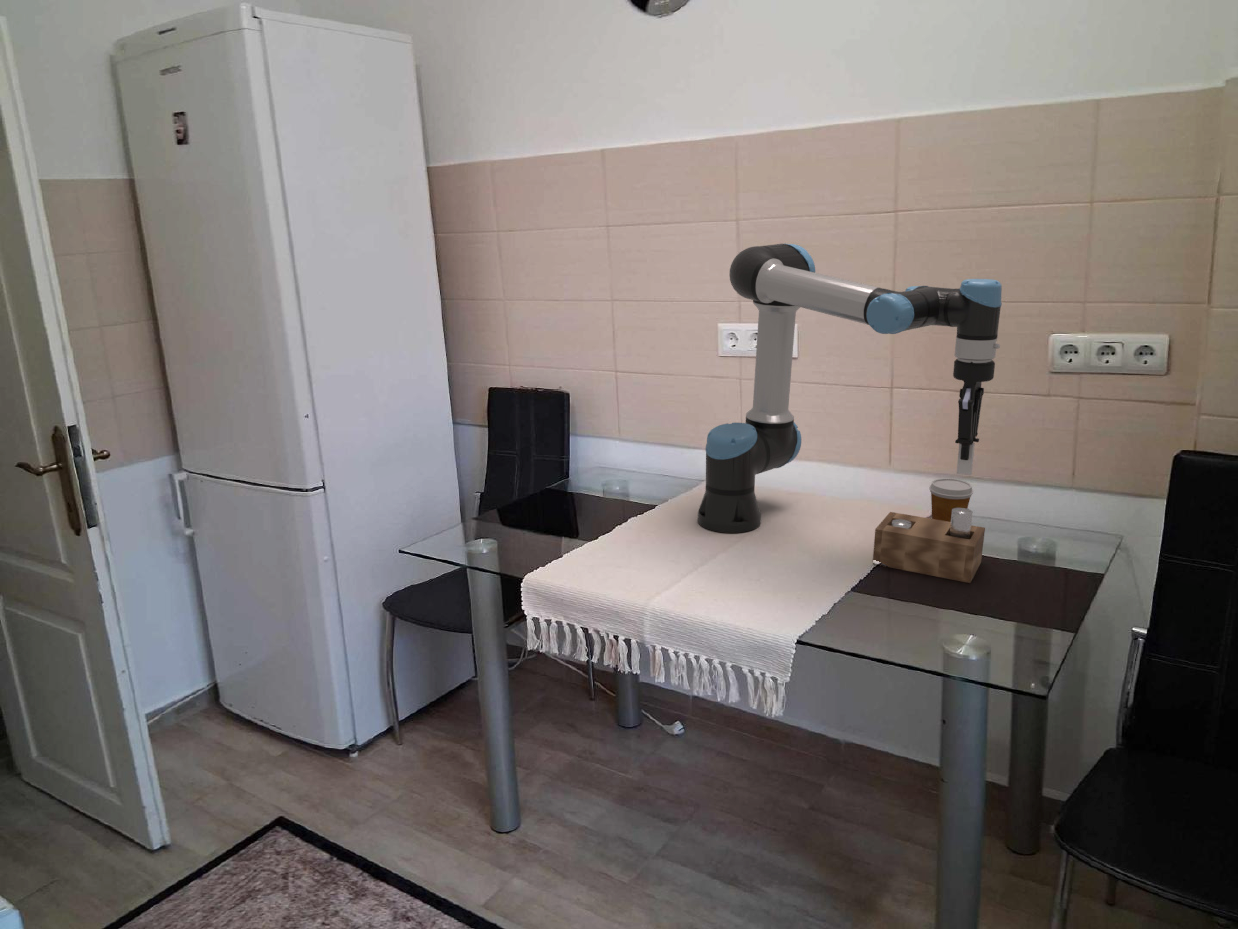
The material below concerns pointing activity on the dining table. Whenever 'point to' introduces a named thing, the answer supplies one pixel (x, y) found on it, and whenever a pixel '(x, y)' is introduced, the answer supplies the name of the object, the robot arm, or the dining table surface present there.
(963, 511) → the pin
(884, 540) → the socket block
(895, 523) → the pin
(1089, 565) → the dining table surface
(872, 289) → the robot arm
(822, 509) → the dining table surface
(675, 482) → the dining table surface
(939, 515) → the disposable coffee cup
